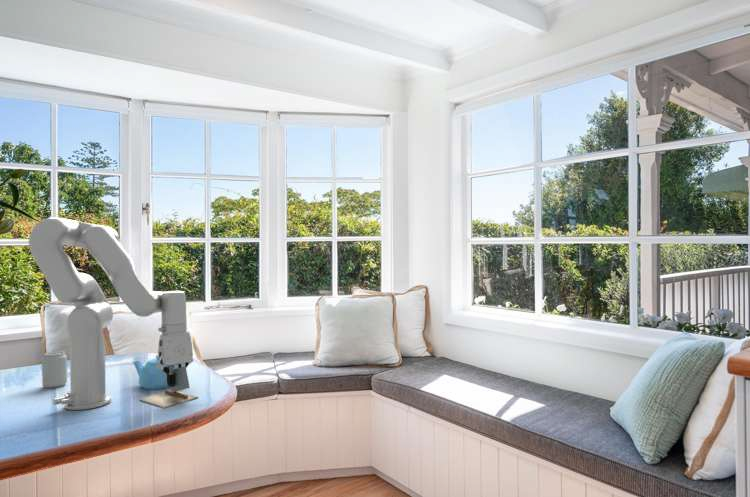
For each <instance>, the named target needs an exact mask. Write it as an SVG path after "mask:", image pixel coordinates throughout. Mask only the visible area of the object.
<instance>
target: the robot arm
mask: <svg viewBox="0 0 750 497" xmlns="http://www.w3.org/2000/svg"><path fill="white" fill-rule="evenodd" d="M29 234H30V235H29V238H28V246H29V247H28V248H29V252H30V253H31V256H32V257H33V259H34V261H35V263H36V264H37V267H39V270H40V272H41V273H42V275H43V277H44V279H45V280H46V282H47V284H48V286H49V287H50V289H51V291H52V293H53V295H54V296H55V297H56V299H57V300H58V301H59V302H61V303H63V304H67V305H70V304H73V306H74V307H75V308H73V309H72V311H71V312H70V313H69V315H68V316H67V322H66V328H67V332H68V333H67V334H68V340H69V359H70V360H69V366H70V367H69V368H70V370H69V371H70V376H69V377H70V391H67V392H66V394H65V395H64V396H62V397H55V398H52V405H53V406H56V405H60V404H61V405H64V408H65V409H66V410H71V411H83V410H90V409H95V408H99V407H102V406H105V405H107V404H110V402H111V401H112V397H111V395H108V394H107V393H106V392H107V391H106V387H107V384H106V341H105V335H104V328H106V327H108V326H109V325H110V323H112V321H113V317H114V313H113V309H112V307H111V304H110V303H109V300H108V299H107V297H106V295H105V293H104V292H103V290H102V288H101V286H100V285H99V283H98V282H97V280H96V279H95V278H94V277H93V276H91V274H87V273H84V272H79V271H78V269H77V267H76V266H75V265H74V263H73V261H72V259H71V257H70V256H69V255H68V253H67V252H66V251H65V250H64V249H63V248H64V247H63V246H71V247H76V248H83V249H86V250H87V251H88V252H89V254H90V255H91V256H92V257H93V259H95V261H96V262H97V264H98V265H99V266H100V267H101V268H102V269H103V271H104V272H105V274H106V275H107V276H108V278H109V281H110V283H111V284H112V286H113V288H114V291H115V292H116V294H117V295H118V297H119V298H120V300H122V303H124V304H125V305H126V306H127V308H128V309H129V310H130V311H131V312H132V313H133V314H134V315H136V316H138V317H140V318H141V317H142V318H145V317H149V316H152V315H153V314H157V313H161V325H160V327H158V332H161V334H159V338H158V339H159V340H158V344H157V355H158V363H157V366H156V369H159V370H162V371H164V372H165V374H167V384H168V386H171V387H174V386H175V375H174V374H173V365H177V366H178V368H180V367H185V366H186V369H187V368H188V366H189V365H190V364H192V363H193V362H194V352H193V342H192V337H191V334H190V331H188V328H187V326H188V325H187V295H186V293H185V291H183V290H168V291H157V290H147V288H146V287H145V286H144V284H143V283H142V282H141V280H140V279H139V277H138V275H137V273H136V269H135V267H136V266H135V262H134V260H133V258H132V257H131V256H130V255H129V254H128V252H127V251H126V249H125V248H124V247H123V245H122V244H121V243H120V236H119V233H118V232H117V231H116V230H115V229H114V228H113V227H110V226H107V225H101V224H100V225H99V224H94V223H89V222H85V221H84V222H83V221H78V220H74V219H70V218H69V219H68V218H62V217H54V216H53V217H47V218H45V219H42V220H40V221H39V222H38V223H36V225H35V226H34V227H33V228H32V229H31V232H30V233H29ZM163 364H164V365H165V367H164V366H163ZM171 387H170V388H171Z"/></svg>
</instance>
